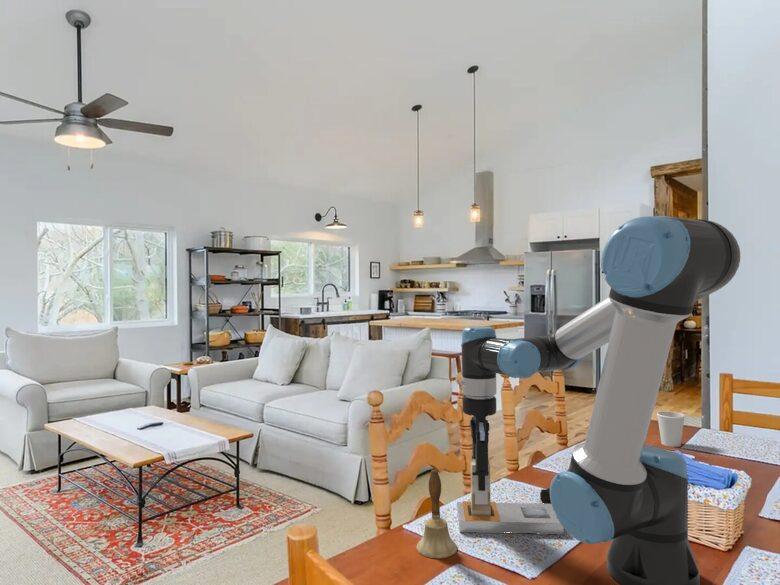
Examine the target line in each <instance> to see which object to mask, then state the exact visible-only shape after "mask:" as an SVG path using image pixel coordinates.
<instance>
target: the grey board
mask: <svg viewBox="0 0 780 585" xmlns="http://www.w3.org/2000/svg"><path fill="white" fill-rule="evenodd" d="M490 503H491V516H472V514H471V500H469V501H467V500H466V501H463V500H462V501H458V502H456V507H457V508H456V510H457V511H456V512H457V513H456V514H457V523H458V531H459V533H460V532H473V533H472V534H502V533H504V532H505V533H506V532H510V533H511V532H512V533H540V534H539V535H547V534H564V535H565V531H564V530H565V529H564V527H563V526H562V525H561V523H560V522H559V520H558V518H557V516H556V513H555V512H554V510H553V507H552V504H543V503H530V502H529V503H527V502H523V503H521V502H520V503H519V502H496V501H490ZM474 532H476V533H474ZM499 532H500V533H499ZM541 533H542V534H541Z"/></svg>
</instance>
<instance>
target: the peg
mask: <svg viewBox="0 0 780 585" xmlns="http://www.w3.org/2000/svg"><path fill="white" fill-rule="evenodd" d="M469 461H470V462H469V463H470V465H469V466H470V501H471V514H472V516H491V503H490V502H491V464H490V461H489V460H488V472H489V474H488V476H487V477H488V504H475V475H472V472H475V471H476V464H475V459H472V458H470V460H469Z"/></svg>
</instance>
